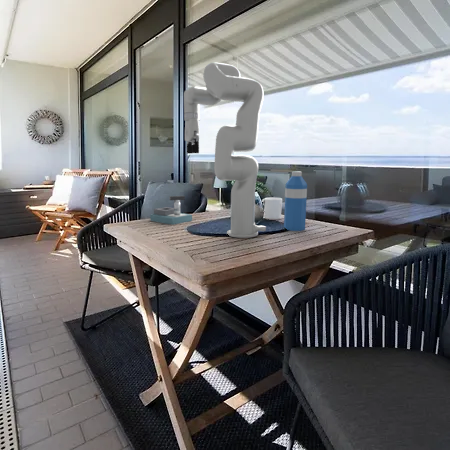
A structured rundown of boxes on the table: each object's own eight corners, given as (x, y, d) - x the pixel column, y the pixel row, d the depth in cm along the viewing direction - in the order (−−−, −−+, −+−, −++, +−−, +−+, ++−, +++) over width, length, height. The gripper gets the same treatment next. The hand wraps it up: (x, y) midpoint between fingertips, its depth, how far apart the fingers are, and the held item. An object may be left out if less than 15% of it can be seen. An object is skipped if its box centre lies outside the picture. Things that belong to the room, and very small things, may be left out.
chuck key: (183, 214, 167) (183, 195, 165) (185, 214, 164) (185, 196, 162) (169, 214, 164) (169, 196, 163) (170, 215, 161) (170, 196, 160)
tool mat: (187, 215, 165) (187, 214, 165) (176, 217, 160) (176, 216, 160) (178, 214, 169) (178, 213, 169) (167, 215, 163) (167, 215, 163)
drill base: (192, 220, 168) (192, 209, 166) (172, 224, 158) (172, 213, 157) (168, 216, 179) (167, 206, 177) (148, 220, 169) (147, 209, 168)
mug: (284, 218, 176) (285, 198, 173) (277, 220, 168) (278, 200, 166) (265, 216, 181) (265, 196, 179) (257, 218, 174) (257, 198, 172)
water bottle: (281, 229, 147) (283, 171, 142) (286, 225, 156) (288, 170, 151) (303, 231, 144) (306, 172, 139) (306, 227, 152) (309, 171, 147)
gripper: (180, 118, 171) (180, 153, 175) (189, 115, 156) (190, 153, 159) (194, 119, 174) (195, 153, 178) (205, 115, 158) (205, 153, 162)
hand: (192, 153), depth 168 cm, fingers open, 9 cm apart
